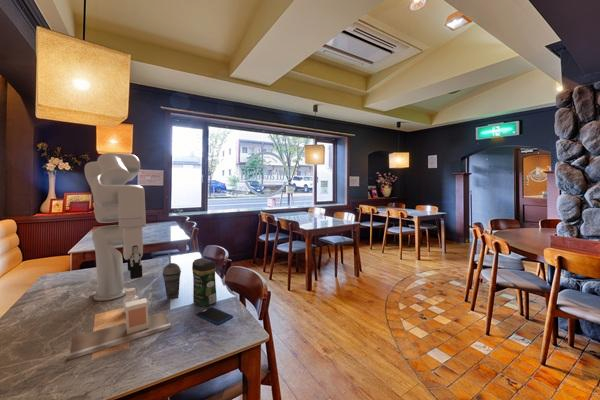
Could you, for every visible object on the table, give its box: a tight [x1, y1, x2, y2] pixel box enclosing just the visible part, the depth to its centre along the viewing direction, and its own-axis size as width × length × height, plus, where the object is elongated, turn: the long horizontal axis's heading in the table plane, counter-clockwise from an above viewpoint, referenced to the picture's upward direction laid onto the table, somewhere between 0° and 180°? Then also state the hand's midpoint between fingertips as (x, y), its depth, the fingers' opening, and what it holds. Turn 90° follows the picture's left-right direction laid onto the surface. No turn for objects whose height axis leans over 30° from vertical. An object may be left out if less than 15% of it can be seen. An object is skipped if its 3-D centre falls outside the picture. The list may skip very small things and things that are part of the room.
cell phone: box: [195, 306, 234, 326], centre depth 98 cm, size 7×14×1 cm, turn 55°
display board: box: [68, 312, 172, 360], centre depth 85 cm, size 26×13×2 cm, turn 128°
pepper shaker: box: [122, 287, 140, 313], centre depth 100 cm, size 4×4×10 cm
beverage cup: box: [162, 253, 182, 301], centre depth 113 cm, size 7×7×20 cm
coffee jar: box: [191, 257, 218, 308], centre depth 109 cm, size 10×8×19 cm
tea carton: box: [125, 297, 149, 334], centre depth 87 cm, size 4×6×9 cm
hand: (134, 273), depth 86 cm, fingers open, 9 cm apart
